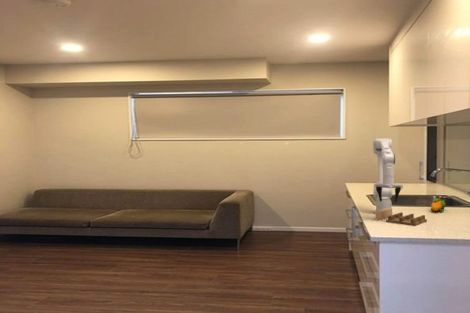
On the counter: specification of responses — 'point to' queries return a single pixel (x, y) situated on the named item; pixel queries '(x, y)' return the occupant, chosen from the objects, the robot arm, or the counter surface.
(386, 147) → the robot arm
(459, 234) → the counter surface
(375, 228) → the counter surface
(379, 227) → the counter surface
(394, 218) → the drying rack
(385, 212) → the clay bar
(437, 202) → the corn
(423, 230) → the counter surface
